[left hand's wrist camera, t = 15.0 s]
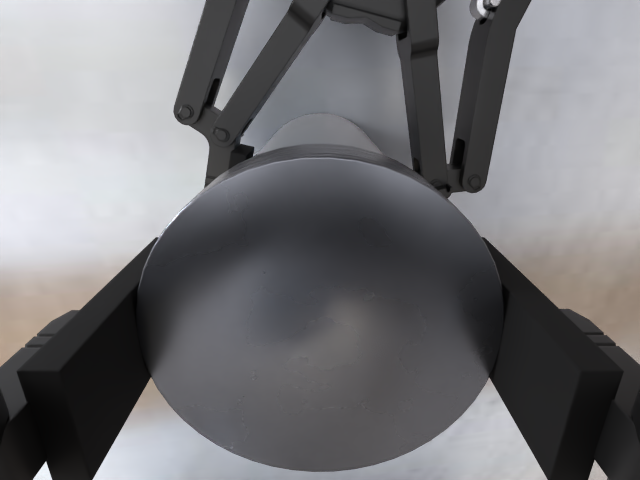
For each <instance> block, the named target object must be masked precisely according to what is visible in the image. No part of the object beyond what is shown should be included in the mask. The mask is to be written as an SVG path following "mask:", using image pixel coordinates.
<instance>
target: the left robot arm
mask: <svg viewBox="0 0 640 480" xmlns="http://www.w3.org/2000/svg"><path fill="white" fill-rule="evenodd" d="M158 238H159V237H156V238H155V239H154V240H153V241H152V242H151V243H150V244H149V245H148V246H147V247H145V248H144V249H143V250H142V251H141V252H140V253H139V254H138V255H137V256H136V257H135V258H134V259H133V260H132V261H131V262H130V263H129V264H128V265H127V266H126V267H125V268H124V269H122V270H121V271H120V272H119V273H118V274H117V275H116V276H115V277H114V278H113V279H112V280H111V281H110V282H109V283H108V284H107V285H106V286H105V287H104V288H103V289H102V290H101V291H99V292H98V293H97V294H96V295H95V296H94V297H93V298H92V299H91V300H90V301H89V302H88V303H87V304H86V305H85V306H84V307H83V308H82V309H81V310H71V311H70V312H68V313H66V314H64V315H62V316H60V317H58V318H57V319H55V320H53V321H51V322H50V323H49V324H48V325H47V326H46V327H45V328H43V329H42V330H41V331H40V332H39V333H38V334H37V337H33V338H32V339H31V340H30V341H29V342H28V343H27V344H26V345H25V348H21V349H20V350H19V351H18V352H17V353H16V354H14V355H13V356H12V357H11V358H10V359H9V360H8V361H7V362H5V363H4V364H3V365H2V366H1V367H0V480H33V478H34V477H35V475H36V474H37V473H38V471H39V470H40V469H41V467H42V466H43V464H44V463H45V462H47V465H48V468H49V471H50V474H51V477H52V480H92V479H93V478H94V476H95V474H96V472H97V471H98V469H99V467H100V465H101V464H102V462H103V460H104V458H105V457H106V455H107V453H108V451H109V450H110V448H111V446H112V444H113V443H114V441H115V439H116V437H117V436H118V434H119V432H120V430H121V429H122V427H123V425H124V423H125V422H126V420H127V418H128V416H129V415H130V413H131V411H132V409H133V408H134V406H135V404H136V402H137V401H138V399H139V397H140V395H141V394H142V392H143V390H144V388H145V387H146V385H147V383H148V381H149V379H150V378H151V375H150V374H149V372H148V369H147V367H146V364H145V361H144V359H143V356H142V353H141V348H140V342H139V337H138V332H137V324H136V304H137V293H138V287H139V283H140V280H141V276H142V272H143V268H144V266H145V264H146V262H147V259H148V257H149V255H150V252H151V250H152V248H153V246H154V245H155V243H156V242H157V240H158ZM481 238H482V239H483V241H484V242H485V244H486V246H487V248H488V250H489V252H490V254H491V256H492V258H493V260H494V262H495V265H496V268H497V272H498V275H499V278H500V281H501V285H502V292H503V299H504V328H503V334H502V339H501V344H500V349H499V353H498V356H497V359H496V362H495V366H494V368H493V370H492V372H491V374H490V376H489V377H490V379H491V381H492V383H493V384H494V386H495V388H496V390H497V391H498V393H499V395H500V397H501V398H502V400H503V402H504V404H505V405H506V407H507V409H508V411H509V412H510V414H511V416H512V418H513V419H514V421H515V423H516V425H517V426H518V428H519V430H520V432H521V433H522V435H523V437H524V439H525V440H526V442H527V444H528V446H529V447H530V449H531V451H532V453H533V454H534V456H535V458H536V460H537V461H538V463H539V465H540V467H541V468H542V470H543V472H544V474H545V475H546V477H547V479H548V480H588V478H589V475H590V472H591V469H592V466H593V463H594V460H596V462H597V463H598V464H599V466H600V467H601V469H602V470H603V471H604V473H605V474H606V476H607V477H608V478H607V480H640V365H639V364H638V363H637V362H636V361H635V360H634V359H633V358H632V357H630V356H629V355H628V354H627V353H626V352H625V351H624V350H623V349H621V348H620V347H619V346H616V343H615V342H614V341H612V340H611V339H610V338H609V337H608V336H607V335H604V333H603V332H602V331H601V330H600V329H599V328H598V327H597V326H596V325H594V324H593V323H592V322H591V321H590V320H589V319H587V318H585V317H583V316H581V315H579V314H577V313H576V312H574V311H572V310H570V309H559V308H558V307H556V306H555V305H554V304H553V303H552V302H551V301H550V300H549V299H548V298H547V297H546V296H545V295H544V294H543V293H542V292H541V291H540V290H539V289H538V288H537V287H536V286H535V285H533V284H532V283H531V282H530V281H529V280H528V279H527V278H526V277H525V276H524V275H523V274H522V273H521V272H520V271H519V270H518V269H517V268H516V267H515V266H514V265H513V264H512V263H510V262H509V261H508V260H507V259H506V258H505V257H504V256H503V255H502V254H501V253H500V252H499V251H498V250H497V249H496V248H495V247H494V246H493V245H492V244H491V243H490V242H489V241H487V240H486V239H485V238H484V237H481Z"/></svg>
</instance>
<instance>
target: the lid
mask: <svg viewBox="0 0 640 480" xmlns="http://www.w3.org/2000/svg"><path fill="white" fill-rule="evenodd" d="M136 324H137V332H138V337H139V342H140V348H141V353H142V356H143V359H144V361H145V364H146V367H147V369H148V372H149V374H150V375H151V377H152V379H153V381H154V383H155V385H156V387H157V388H158V390H159V391H160V393H161V394H162V395H163V397H164V398H165V400H166V401H167V402H168V404H169V405H170V406H171V407H172V408H173V409H174V410H175V412H176V413H177V414H178V415H179V416H180V417H181V418H182V419H183V420H184V421H185V422H186V423H188V424H189V425H190V426H191V427H192V428H194V429H195V430H196V431H197V432H198V433H200V434H201V435H203V436H204V437H206V438H207V439H209V440H210V441H212V442H213V443H215V444H217V445H218V446H220V447H222V448H224V449H226V450H228V451H230V452H232V453H234V454H236V455H239V456H242V457H244V458H247V459H249V460H252V461H255V462H259V463H262V464H266V465H269V466H273V467H279V468H284V469H290V470H299V471H311V472H325V471H341V470H351V469H357V468H362V467H366V466H371V465H375V464H379V463H382V462H385V461H388V460H391V459H394V458H396V457H399V456H401V455H404V454H406V453H408V452H411V451H413V450H414V449H416V448H418V447H420V446H422V445H423V444H425V443H427V442H429V441H430V440H432V439H433V438H435V437H436V436H437V435H439V434H440V433H442V432H443V431H444V430H446V429H447V428H448V427H449V426H450V425H451V424H453V423H454V422H455V421H456V420H457V419H458V418H459V417H460V416H461V415H462V414H463V413H464V412H465V411H466V410H467V409H468V407H469V406H470V405H471V404H472V403H473V402H474V400H475V399H476V397H477V396H478V394H479V393H480V391H481V390H482V389H483V387H484V386H485V384H486V382H487V380H488V378H489V376H490V374H491V372H492V370H493V368H494V366H495V362H496V359H497V356H498V353H499V349H500V344H501V339H502V334H503V328H504V299H503V292H502V285H501V281H500V278H499V275H498V272H497V268H496V265H495V262H494V260H493V258H492V256H491V254H490V252H489V250H488V248H487V246H486V244H485V242H484V241H483V239H482V238H481V236H480V235H479V234H478V232H477V231H476V229H475V228H474V226H473V225H472V224H471V222H470V221H469V220H468V219H467V218H466V217H465V216H464V215H463V214H462V213H461V212H460V211H459V210H458V209H457V208H456V207H455V206H454V205H453V204H452V203H451V202H450V201H449V200H448V199H447V198H446V197H445V196H444V195H443V194H442V193H440V192H439V191H438V190H437V189H436V188H435V187H434V186H433V185H432V184H430V183H429V182H428V181H427V180H425V179H424V178H423V177H421V176H420V175H419V174H418V173H416V172H415V171H413V170H412V169H410V168H408V167H406V166H405V165H403V164H401V163H399V162H398V161H396V160H394V159H391V158H389V157H386V156H384V155H381V154H379V153H376V152H373V151H369V150H365V149H361V148H357V147H353V146H347V145H338V144H329V143H324V144H301V145H294V146H288V147H282V148H278V149H275V150H271V151H268V152H265V153H261V154H258V155H256V156H254V157H252V158H250V159H247V160H245V161H243V162H241V163H239V164H237V165H235V166H234V167H232V168H231V169H229V170H227V171H226V172H224V173H223V174H221V175H220V176H218V177H217V178H216V179H215V180H214V181H213V182H211V183H210V184H209V185H208V186H207V187H205V188H204V189H203V190H202V191H201V192H200V193H199V194H198V195H197V196H196V197H195V198H193V199H192V200H191V201H190V202H189V203H188V204H187V205H186V206H185V207H184V208H183V209H182V210H181V211H180V212H179V213H178V214H177V215H176V216H175V217H174V219H173V220H172V221H171V222H170V223H169V224H168V225H167V227H166V228H165V229H164V231H163V232H162V234H161V235H160V237H159V238H158V240H157V242H156V243H155V245H154V246H153V248H152V250H151V252H150V255H149V257H148V259H147V262H146V264H145V266H144V268H143V272H142V276H141V280H140V283H139V287H138V293H137V304H136Z"/></svg>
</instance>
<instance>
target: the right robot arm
mask: <svg viewBox="0 0 640 480" xmlns="http://www.w3.org/2000/svg"><path fill="white" fill-rule="evenodd" d="M444 1H445V0H293V1H292V3H291V5H290V7H289V10H288V12H287V13H286V15H285V17H284V18H283V20H282V21H281V23H280V24H279V26H278V27H277V29H276V30H275V32H274V33H273V35H272V36H271V38H270V39H269V41H268V42H267V44H266V45H265V47H264V48H263V50H262V51H261V53H260V54H259V56H258V57H257V59H256V61H255V62H254V64H253V65H252V67H251V68H250V70H249V71H248V73H247V74H246V76H245V77H244V79H243V80H242V82H241V83H240V85H239V86H238V88H237V89H236V91H235V92H234V94H233V95H232V97H231V98H230V100H229V101H228V103H227V105H226V106H225V108H224V109H223V111H220V110H219V109H217V108H216V107H214V104H215V101H216V98H217V95H218V92H219V89H220V86H221V83H222V80H223V77H224V74H225V71H226V68H227V65H228V62H229V59H230V56H231V53H232V50H233V47H234V44H235V41H236V38H237V35H238V32H239V29H240V26H241V23H242V20H243V17H244V15H245V12H246V9H247V6H248V3H249V0H206V3H205V6H204V9H203V13H202V16H201V19H200V23H199V26H198V29H197V32H196V36H195V39H194V42H193V46H192V49H191V52H190V56H189V59H188V62H187V65H186V69H185V72H184V75H183V79H182V82H181V85H180V89H179V92H178V95H177V99H176V102H175V105H174V115H175V118H176V119H177V120H178V121H179V122H180V123H182V124H184V125H189V126H191V127H192V128H194V129H195V130H197V131H199V132H200V133H202V134H203V135H204V136H205V137H206V138H207V140H208V142H209V146H210V148H209V158H208V165H207V172H206V179H205V187H207V186H208V185H209V184H210V183H211V182H213V181H214V180H215V179H216V178H217V177H218V176H220V175H221V174H223V173H224V172H226V171H227V170H229V169H231V168H232V167H234V166H235V165H237V164H239V163H241V162H243V161H245V160H247V159H250V158H252V157H253V153H254V147H252V146H248V145H243V144H240V139H241V137H242V136H243V135H244V132H245V131H246V129H247V128H248V126H249V125H250V124H251V122H252V121H253V119H254V118H255V116H256V115H257V113H258V112H259V111H260V109H261V108H262V106H263V105H264V103H265V102H266V100H267V99H268V97H269V96H270V95H271V93H272V92H273V90H274V89H275V87H276V86H277V84H278V83H279V82H280V80H281V79H282V77H283V76H284V74H285V73H286V71H287V70H288V69H289V67H290V66H291V64H292V63H293V61H294V60H295V58H296V57H297V55H298V54H299V53H300V51H301V50H302V48H303V47H304V45H305V44H306V42H307V41H308V40H309V38H310V37H311V35H312V34H313V33H314V32H315V31H316V29H317V28H318V26H319V25H320V24H321V22H322V21H323V19H324V18H325V16H326V15H327V16H329V17H331V20H333V21H337V22H340V23H344V24H358V23H362V24H364V25H366V26H367V27H369V28H371V29H372V30H374V31H376V32H378V33H381V34H385V35H389V36H393V35H394V34H396V42H397V50H398V55H399V58H400V61H401V69H402V78H403V86H404V95H405V104H406V112H407V121H408V130H409V138H410V147H411V156H412V164H413V171H415V172H416V173H418V174H419V175H420V176H421V177H423V178H424V179H425V180H427V181H428V182H429V183H430V184H432V185H433V186H434V187H435V188H436V189H437V190H438V191H439V192H440V193H442V194H443V195H444V196H445V197H446V198H448V197H449V196H450V195H451V193H454V192H463V191H467V192H470V193H476V192H479V191H480V190H482V189H483V187H484V186H485V184H486V180H487V175H488V170H489V165H490V160H491V155H492V150H493V145H494V139H495V134H496V129H497V124H498V119H499V114H500V109H501V104H502V99H503V94H504V88H505V83H506V78H507V73H508V68H509V63H510V58H511V53H512V48H513V42H514V37H515V32H516V28H517V27H518V25H519V23H520V21H521V19H522V17H523V15H524V13H525V11H526V10H527V8H528V6H529V4H530V2H531V0H471V2H470V13H471V15H472V16H473V17H474V18H475V19H476V21H475V23H474V26H473V29H472V32H471V36H470V41H469V45H468V52H467V58H466V64H465V70H464V77H463V83H462V89H461V95H460V102H459V108H458V114H457V120H456V127H455V133H454V139H453V145H452V152H451V158H450V164H446V153H445V141H444V129H443V117H442V106H441V94H440V82H439V70H438V59H437V49H438V45H439V33H438V21H437V9H436V8H437V7H438V6H440V5H441V4H442V3H443V2H444ZM205 187H204V188H205Z"/></svg>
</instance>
